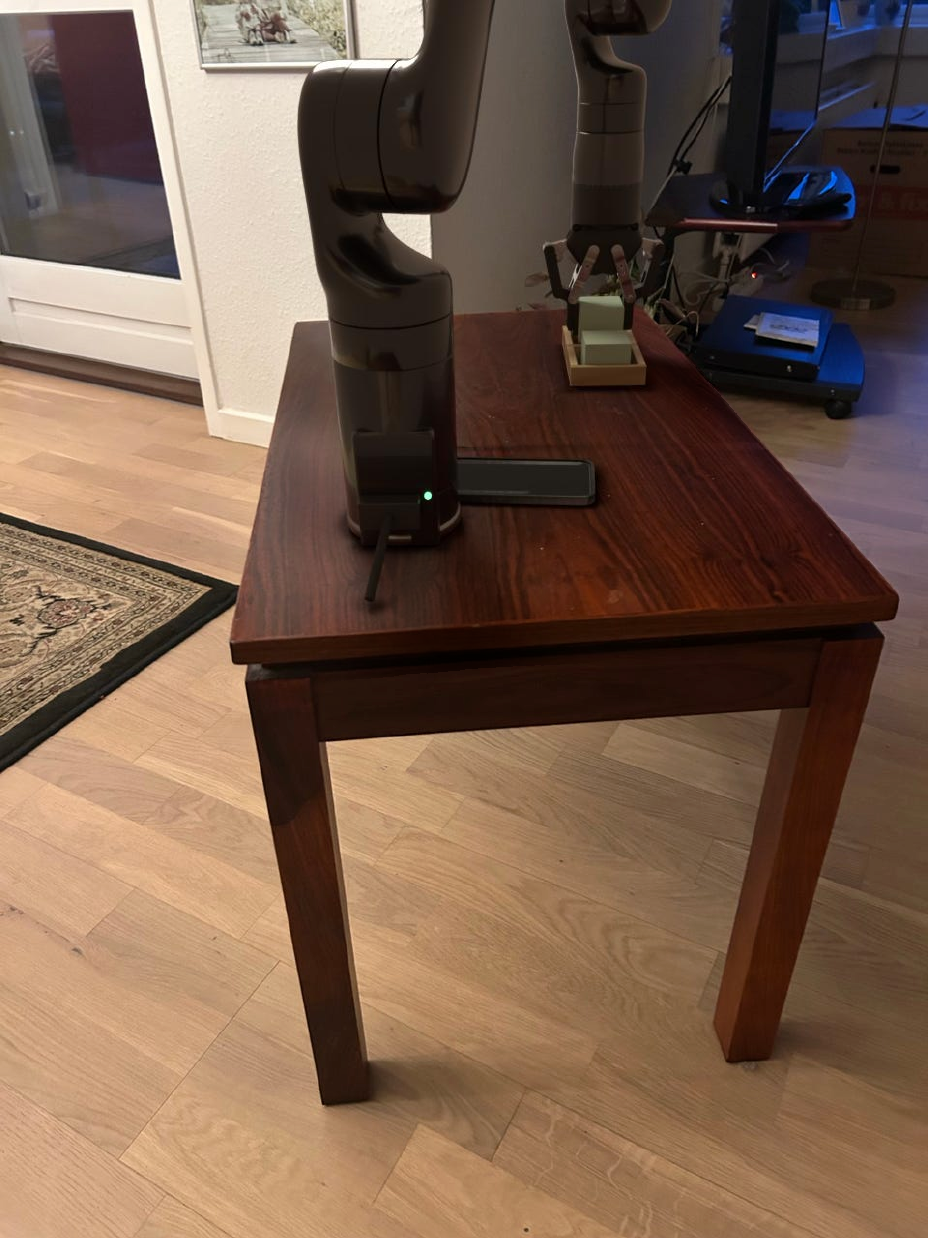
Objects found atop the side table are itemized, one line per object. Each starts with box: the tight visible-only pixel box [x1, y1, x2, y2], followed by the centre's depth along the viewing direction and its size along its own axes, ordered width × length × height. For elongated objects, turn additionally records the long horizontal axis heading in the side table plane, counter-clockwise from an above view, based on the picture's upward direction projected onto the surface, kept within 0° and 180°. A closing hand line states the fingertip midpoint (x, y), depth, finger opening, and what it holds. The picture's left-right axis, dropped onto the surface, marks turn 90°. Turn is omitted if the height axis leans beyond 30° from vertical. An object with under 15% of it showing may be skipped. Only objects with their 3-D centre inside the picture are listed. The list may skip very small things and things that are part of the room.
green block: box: [577, 295, 624, 343], centre depth 111 cm, size 5×5×4 cm
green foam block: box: [580, 330, 632, 365], centre depth 105 cm, size 5×5×4 cm
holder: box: [561, 325, 647, 387], centre depth 109 cm, size 15×8×3 cm, turn 179°
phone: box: [457, 456, 596, 506], centre depth 84 cm, size 8×1×15 cm
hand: (598, 332), depth 111 cm, fingers closed on green block, 5 cm apart
